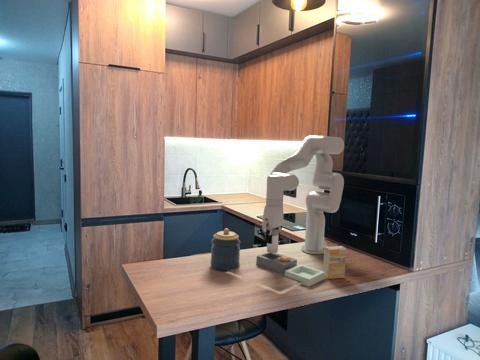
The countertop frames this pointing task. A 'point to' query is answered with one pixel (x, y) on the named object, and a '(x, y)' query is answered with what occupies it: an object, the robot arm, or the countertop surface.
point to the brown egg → (285, 258)
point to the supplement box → (334, 262)
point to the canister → (225, 250)
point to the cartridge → (273, 241)
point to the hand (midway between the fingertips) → (272, 241)
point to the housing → (275, 262)
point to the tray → (305, 274)
